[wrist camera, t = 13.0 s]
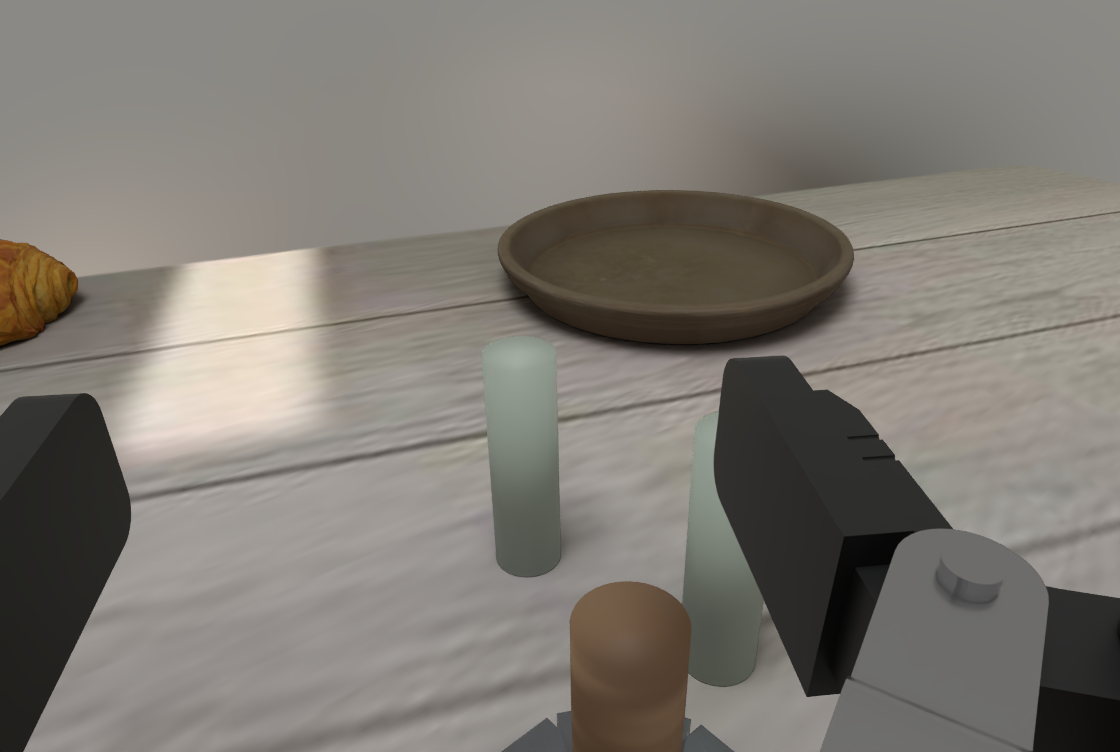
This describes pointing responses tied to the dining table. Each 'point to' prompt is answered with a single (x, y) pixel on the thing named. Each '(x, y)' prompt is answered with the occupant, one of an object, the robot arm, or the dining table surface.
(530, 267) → the plant saucer
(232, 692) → the dining table surface
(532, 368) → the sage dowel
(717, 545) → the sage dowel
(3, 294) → the croissant
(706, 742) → the ring
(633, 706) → the walnut dowel
